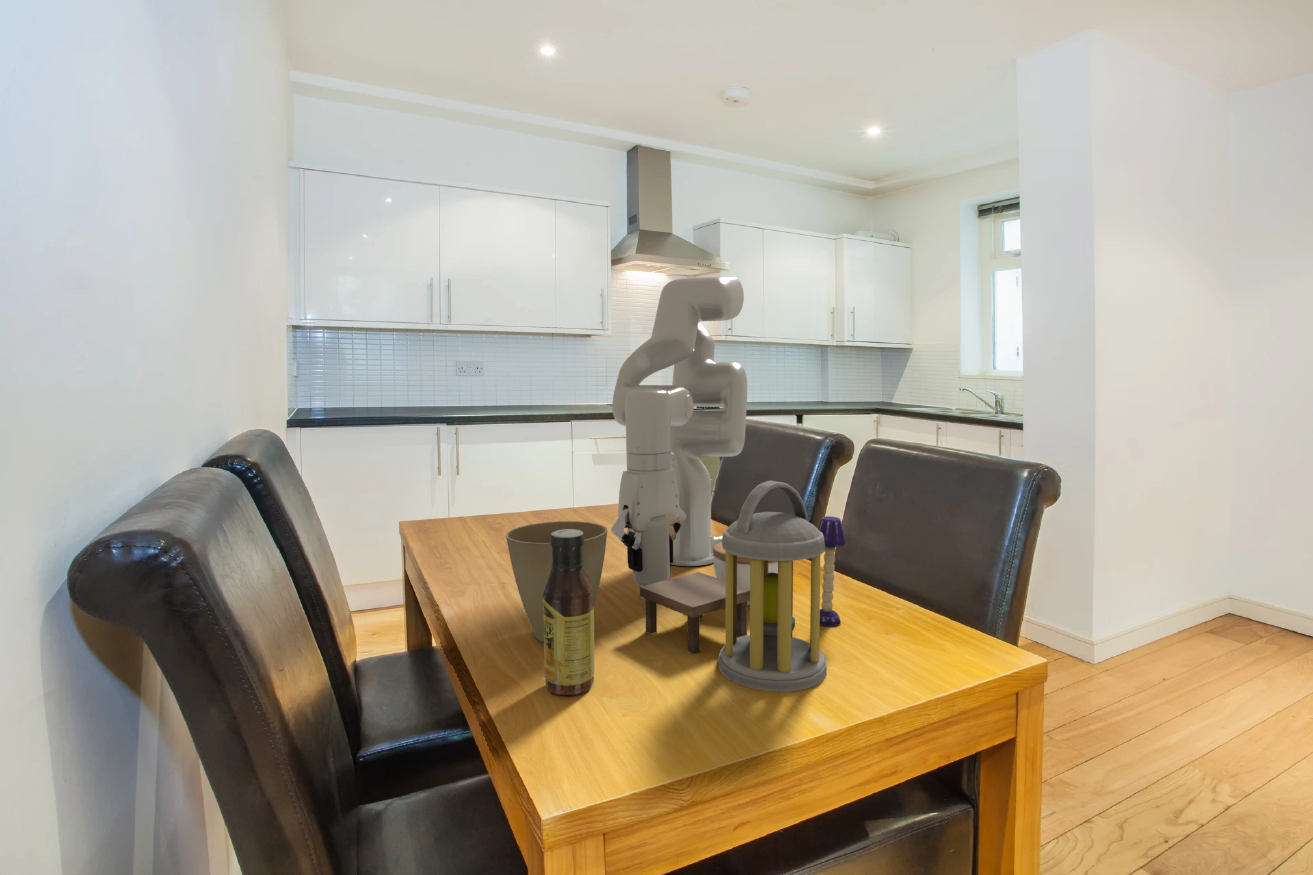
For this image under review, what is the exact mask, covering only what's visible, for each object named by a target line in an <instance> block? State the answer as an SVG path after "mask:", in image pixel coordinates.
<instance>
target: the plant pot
mask: <svg viewBox="0 0 1313 875" xmlns="http://www.w3.org/2000/svg"><path fill="white" fill-rule="evenodd" d="M563 529H576V530H580V531H582V532H583V533H584V545H583V550H582V551H583V562H584V564H583V569H584V571H585V573H586V574H587V576H589V578H590V580H591V582H592V589H593V595H592V597H593V605H594V606H595V603H596V600H597V596H598V592H599V588H600V583H601V579H602V578H601V577H602V572H603V569H604V563H605V562H604V561H605V554H606V549H607V548H606V547H607V538H608V527H606V526H605V525H603V524H600V523H597V522H596V523H595V522H590V521H589V522H587V521H580V520H578V521H577V520H576V521H575V520H560V521H559V520H558V521H546V522H538V523H531V524H525V525H522V526H518V527H516V528H512V529H511V530H509V531H508V532H506V535H505V536H506V543H507V548H508V552H509V553H508V554H509V559H510V564H511V568H512V572H513V575H514V576H513V577H514V579H515V580H514V581H515V584H516V586H517V590H518V593H519V597H520V600H521V602H522V606H523V609H524V612H525V613H526V617H527V619H528V621H529V624H530V626H531V629H532V630H533V631H532V632H533V634H534V635H535V637H536V638H535V639H536V640H538V641H540V642H542V643H544V631H543V593H544V590H545V587H546V585H547V582H548V579H549V576H550V572H551V569H552V546H551V543H550V542H551V541H550V540H551V533H552V532H555V531H557V530H563Z"/></svg>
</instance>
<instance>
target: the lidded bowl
mask: <svg viewBox="0 0 1313 875" xmlns="http://www.w3.org/2000/svg"><path fill="white" fill-rule="evenodd" d="M713 555H714V562H713V567H714V575H715V576H714V577H715V578H718V579H722V580H725V581H726V551H725V550H724V549H723V547H722V542H719V543H717V544H715V545H714V547H713ZM768 573H777V574H778V561H770V560H768ZM737 585H740V586H743V587H746V588H749V589H750V558H744V557H741V556H737ZM747 606H750V600H749V601H747Z"/></svg>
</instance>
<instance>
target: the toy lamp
mask: <svg viewBox="0 0 1313 875" xmlns="http://www.w3.org/2000/svg"><path fill="white" fill-rule="evenodd" d="M817 529H818V530H819V531H820V532H822V533H823V536H824V541H825V552H824V554H823V562H824V564H823V574H822V580H823V583H822V586H821V588H822V592H821V603H820V605H821V606H820V607H821V608H820V626H823V627H836V626H839V625H841V616H840V615H839V614H838V612H837V611H835V610H833V599H834V593H833V591H834V587H835V585H834V581H835V569H836V568H835V567H836V566H835V561H836V556H835V553H836V548H842V547H844V546H846V538H845V533H844V532H845V531H844V527H843V523H842V520H841V518H839V517H836V516H831V515H830V516H822V517H821V519H820V521H819V525H818V527H817Z"/></svg>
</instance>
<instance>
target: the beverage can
mask: <svg viewBox="0 0 1313 875" xmlns="http://www.w3.org/2000/svg"><path fill="white" fill-rule="evenodd" d="M665 517H666V515H665V516H661V517H656V518H651V519H650V520H651V522H650V523H649V524H648V525H647V527H646V530H645V531H643V532H641V533H642V538H641V542H640V545H639V548H641V549H642V565H643V570H642V571H641V572H637V571H634V570H632V579H633V581H634V582H635V583H637V585H639V586H640V587H641V586H645V585H649V584H653V583H657V582H661V581H665V580H669V579H671V572H670V571H671V570H670V569H671V568H670V565H671V564H670V558H669V521H668V520H667V519H666V518H665ZM634 535H635V533H634V532H633V539H634Z"/></svg>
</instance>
